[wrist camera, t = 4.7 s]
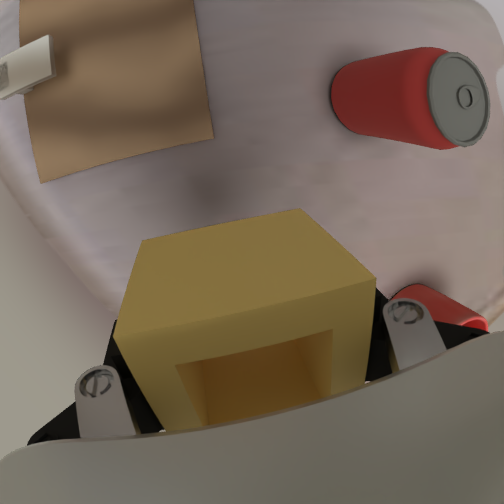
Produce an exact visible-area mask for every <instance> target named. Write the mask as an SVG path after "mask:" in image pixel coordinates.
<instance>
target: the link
mask: <svg viewBox="0 0 504 504" xmlns="http://www.w3.org/2000/svg"><path fill="white" fill-rule="evenodd" d="M375 290H376V277H375V276H374V275H373V274H372V273H371V272H370V271H368V270H367V269H366V268H365V267H364V266H363V265H362V264H361V263H360V262H359V261H358V260H357V259H356V258H355V257H354V256H353V255H351V254H350V253H349V252H348V251H347V250H346V249H345V248H344V247H343V246H342V245H341V244H340V243H338V242H337V241H336V240H335V239H334V238H333V237H332V236H331V235H330V234H329V233H327V232H326V231H325V230H324V229H323V228H322V227H321V226H320V225H319V224H317V223H316V222H315V221H314V220H313V219H312V218H311V217H310V216H308V215H307V214H306V213H305V212H304V211H303V210H302V209H300V208H299V209H294V210H289V211H283V212H278V213H273V214H267V215H262V216H257V217H252V218H247V219H242V220H237V221H232V222H227V223H222V224H217V225H212V226H207V227H203V228H198V229H193V230H188V231H184V232H179V233H174V234H170V235H165V236H161V237H156V238H152V239H147V240H143V241H142V243H141V246H140V248H139V251H138V254H137V257H136V260H135V263H134V266H133V269H132V273H131V276H130V279H129V282H128V285H127V289H126V292H125V295H124V299H123V302H122V305H121V309H120V312H119V316H118V319H117V323H116V327H115V330H114V334H113V338H114V340H115V342H116V344H117V346H118V348H119V350H120V352H121V354H122V356H123V358H124V360H125V362H126V363H127V365H128V367H129V369H130V371H131V373H132V375H133V377H134V378H135V380H136V382H137V384H138V386H139V387H140V389H141V391H142V393H143V394H144V396H145V398H146V400H147V401H148V403H149V405H150V406H151V408H152V410H153V411H154V413H155V415H156V416H157V418H158V419H159V421H160V423H161V424H162V426H163V427H164V429H165V430H166V432H167V431H174V430H182V429H189V428H195V427H201V426H207V425H213V424H218V423H224V422H229V421H234V420H239V419H244V418H248V417H253V416H257V415H262V414H266V413H270V412H274V411H278V410H282V409H286V408H290V407H293V406H297V405H301V404H304V403H308V402H311V401H314V400H318V399H321V398H324V397H327V396H331V395H334V394H337V393H340V392H343V391H346V390H349V389H352V388H355V387H358V386H360V385H363V384H365V377H366V371H367V364H368V357H369V349H370V341H371V333H372V324H373V314H374V303H375Z"/></svg>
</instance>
